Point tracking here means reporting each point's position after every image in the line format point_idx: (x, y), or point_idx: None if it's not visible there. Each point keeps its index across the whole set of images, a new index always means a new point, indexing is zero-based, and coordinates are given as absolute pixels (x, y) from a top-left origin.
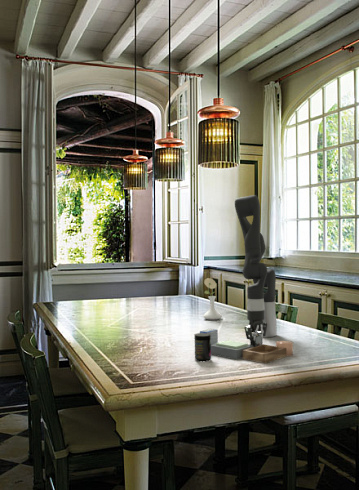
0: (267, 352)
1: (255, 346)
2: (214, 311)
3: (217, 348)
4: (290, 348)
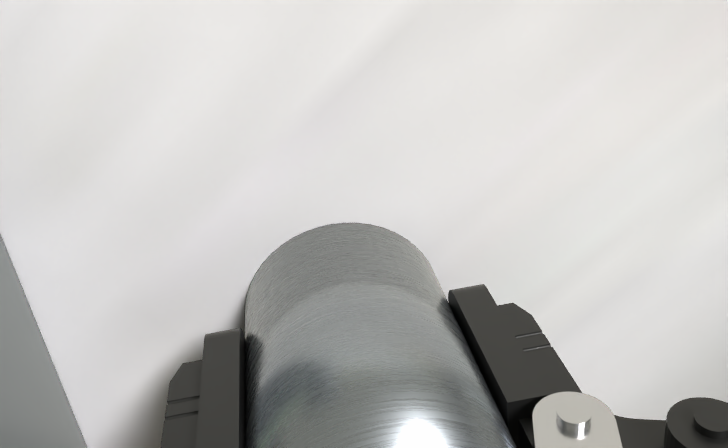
0: None
1: None
2: None
3: None
4: None
